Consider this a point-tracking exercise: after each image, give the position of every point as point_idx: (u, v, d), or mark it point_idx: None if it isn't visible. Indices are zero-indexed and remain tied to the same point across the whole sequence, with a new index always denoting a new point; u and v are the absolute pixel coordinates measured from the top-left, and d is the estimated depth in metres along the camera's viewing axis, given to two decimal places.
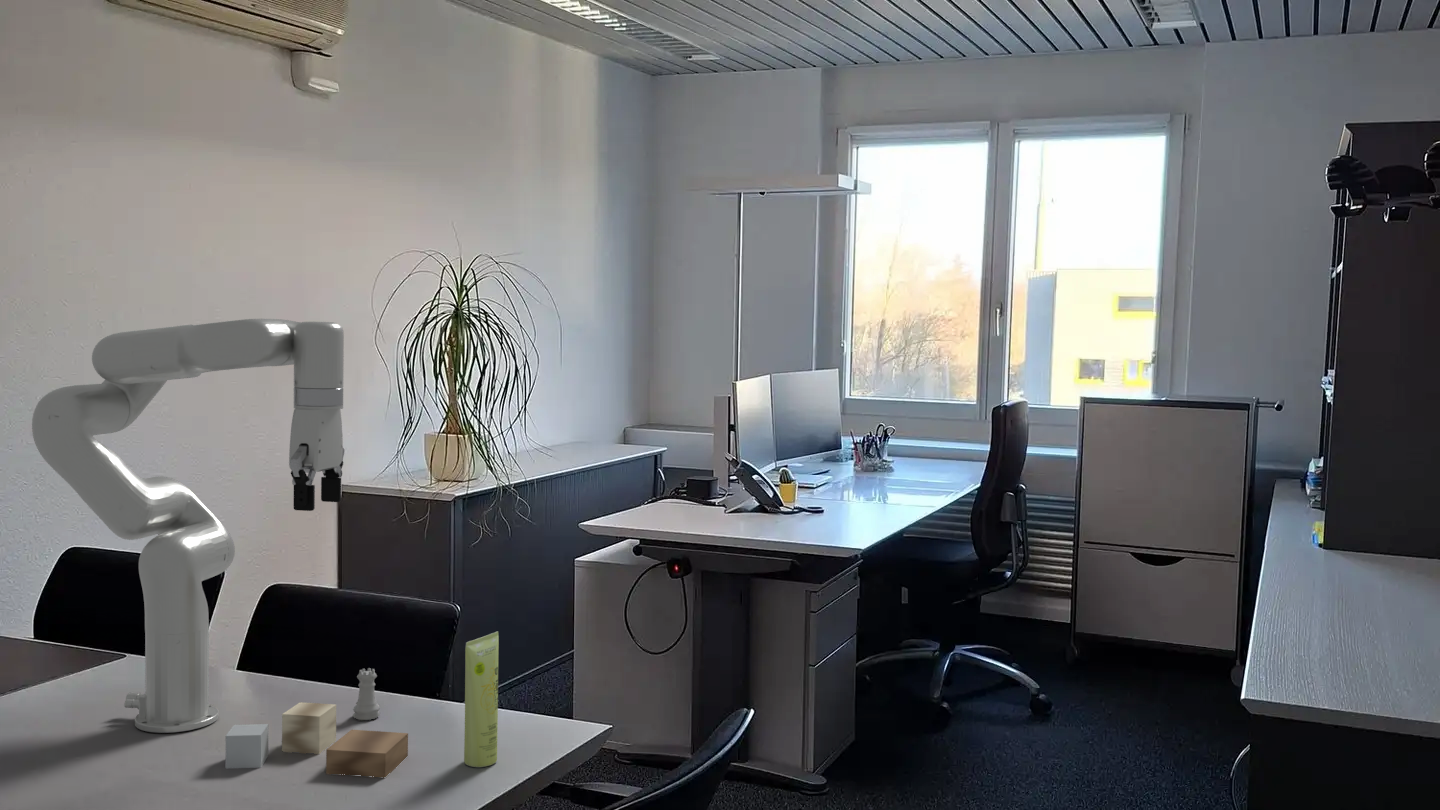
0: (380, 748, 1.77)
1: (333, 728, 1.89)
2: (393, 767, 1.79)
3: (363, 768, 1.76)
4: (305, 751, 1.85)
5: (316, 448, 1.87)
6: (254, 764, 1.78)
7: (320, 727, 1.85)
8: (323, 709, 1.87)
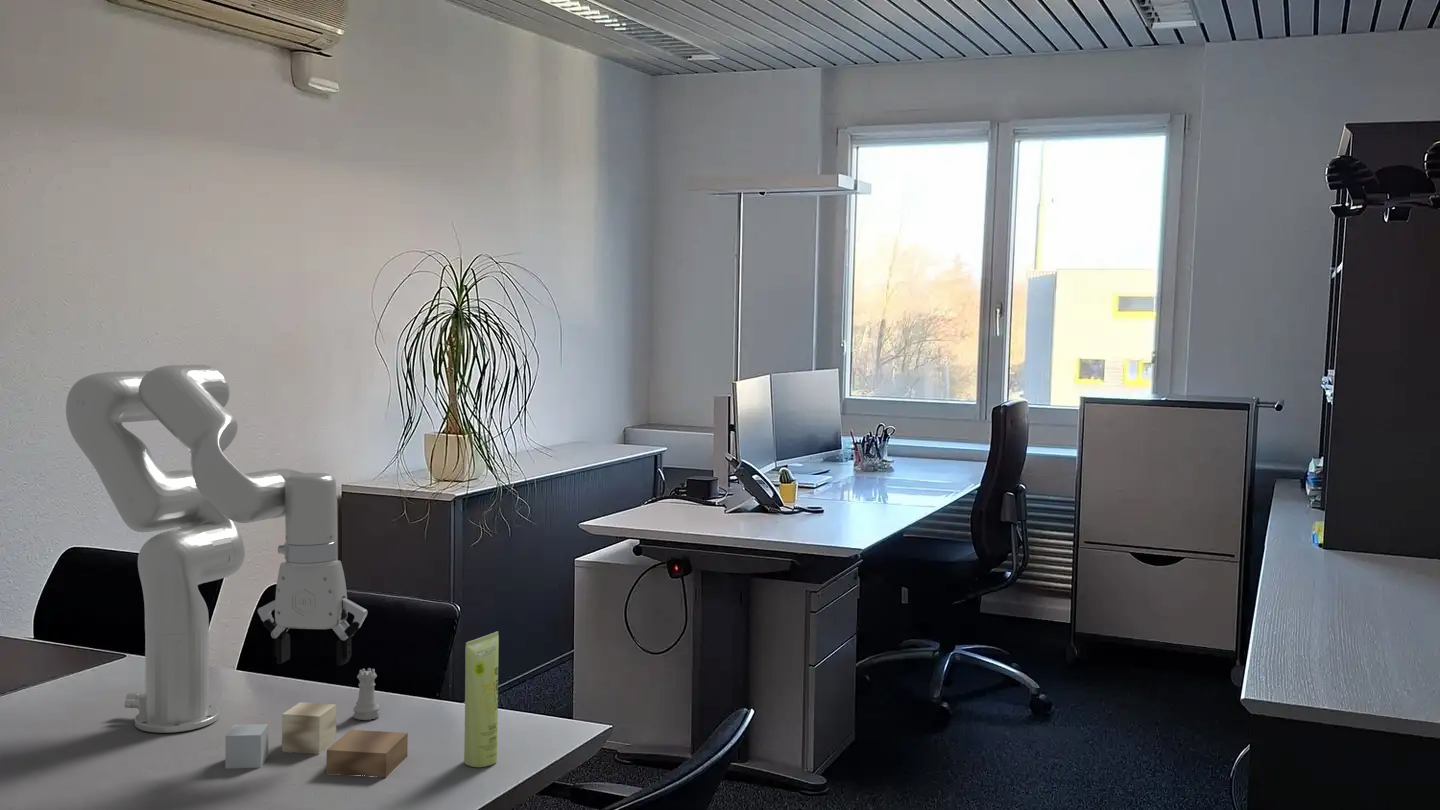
0: (381, 748, 1.77)
1: (333, 728, 1.89)
2: (393, 767, 1.79)
3: (363, 768, 1.76)
4: (305, 751, 1.85)
5: (346, 598, 1.87)
6: (254, 764, 1.78)
7: (320, 727, 1.85)
8: (323, 709, 1.87)
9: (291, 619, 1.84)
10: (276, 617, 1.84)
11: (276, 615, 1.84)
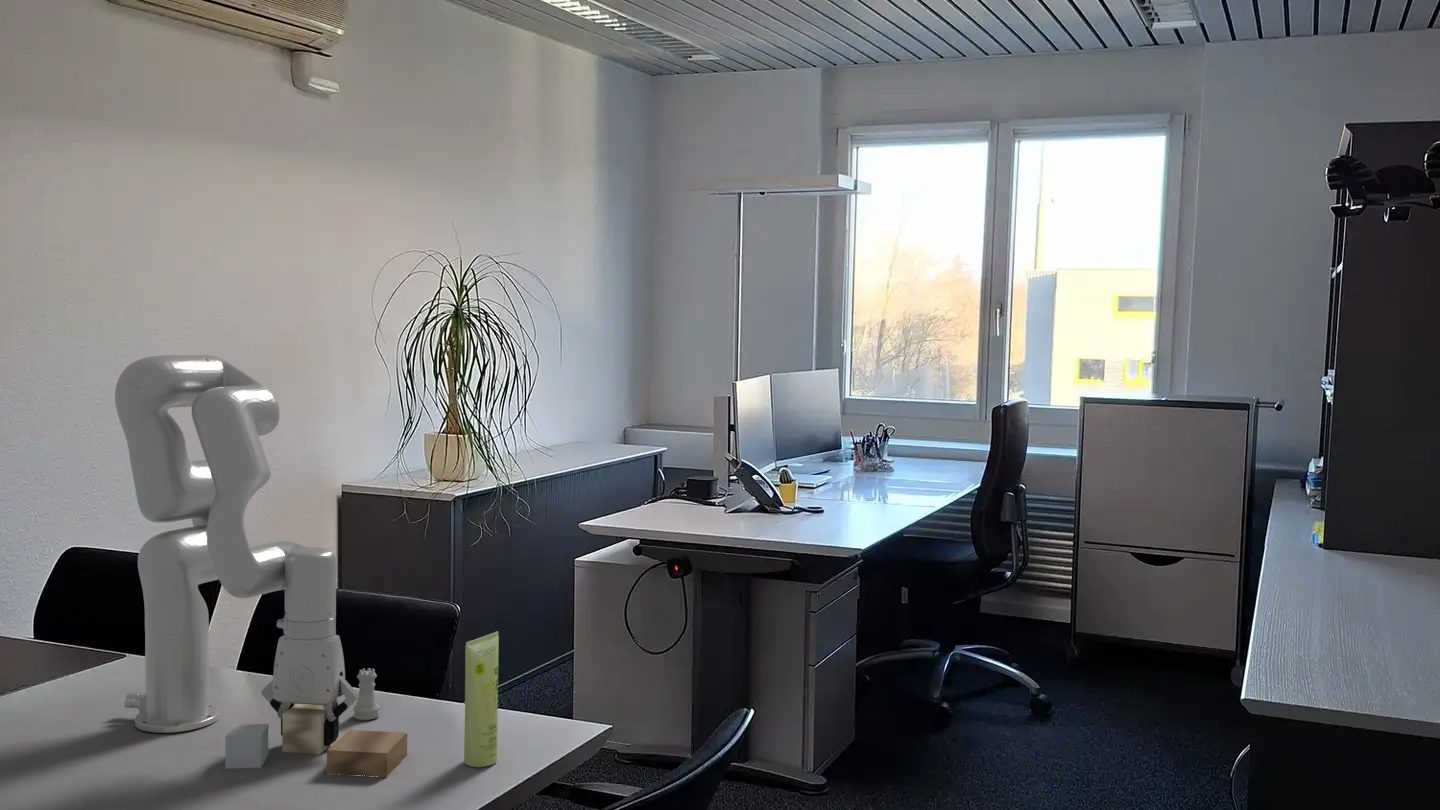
0: (381, 748, 1.77)
1: None
2: (394, 767, 1.79)
3: (364, 768, 1.76)
4: (305, 751, 1.85)
5: None
6: (254, 764, 1.78)
7: (321, 726, 1.85)
8: (323, 708, 1.87)
9: (289, 694, 1.85)
10: (274, 692, 1.85)
11: (274, 690, 1.85)
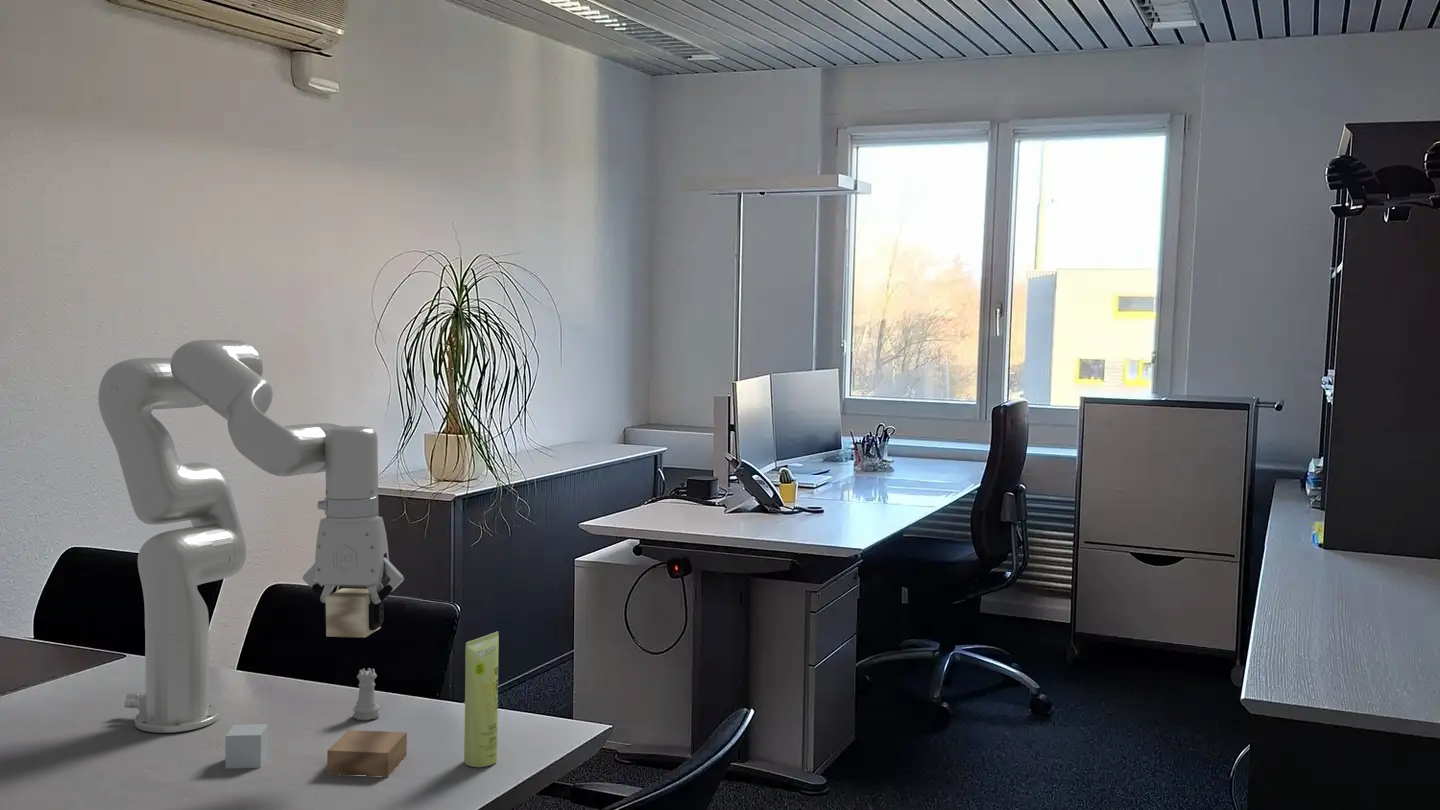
0: (382, 748, 1.77)
1: None
2: (394, 766, 1.79)
3: (365, 768, 1.76)
4: (350, 634, 1.78)
5: None
6: (254, 764, 1.78)
7: (366, 608, 1.78)
8: (367, 592, 1.81)
9: (332, 576, 1.78)
10: (316, 574, 1.79)
11: (316, 572, 1.79)
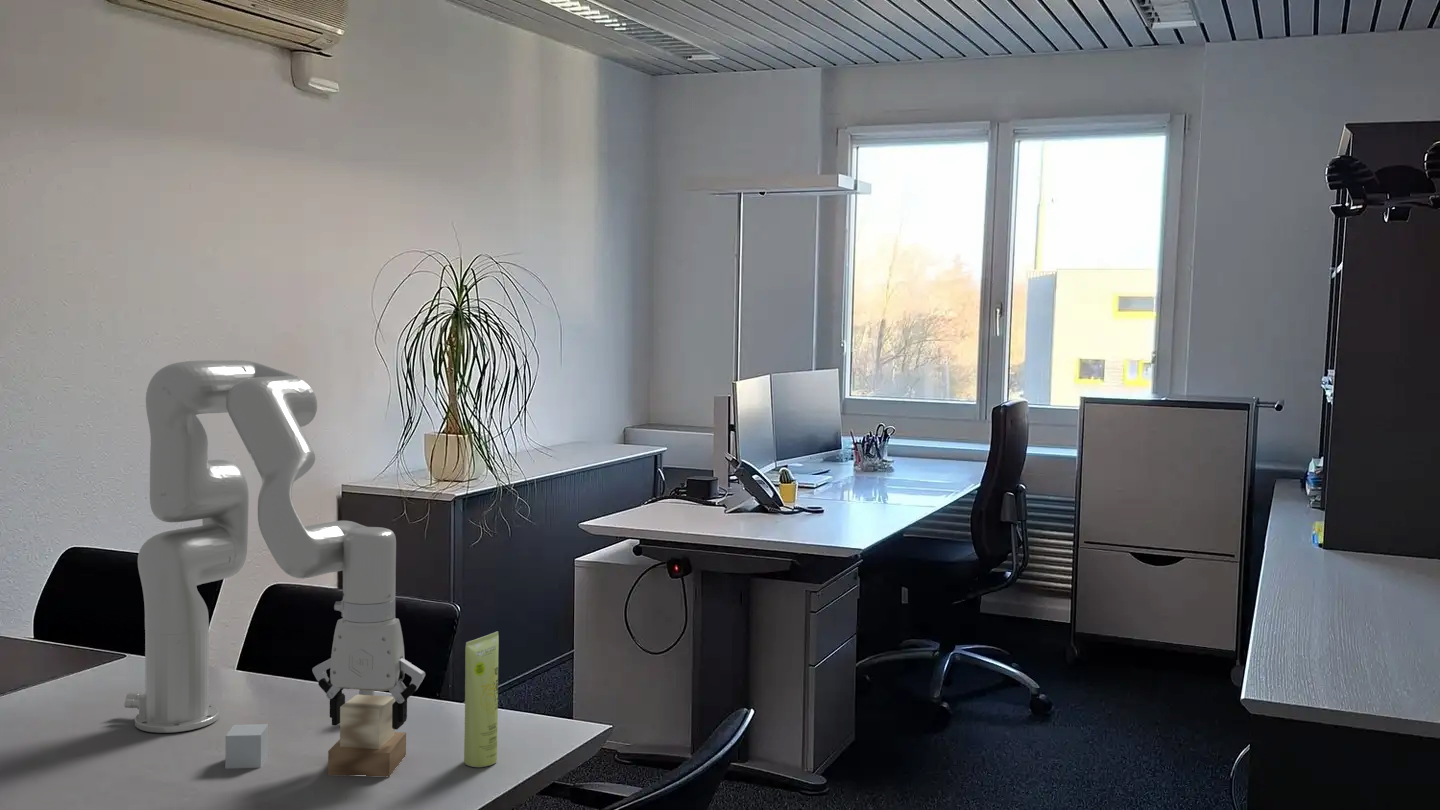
0: (383, 748, 1.77)
1: None
2: (395, 766, 1.79)
3: (366, 768, 1.76)
4: (364, 745, 1.77)
5: None
6: (254, 764, 1.78)
7: (380, 720, 1.77)
8: (382, 701, 1.80)
9: (347, 679, 1.77)
10: (331, 677, 1.77)
11: (331, 675, 1.77)
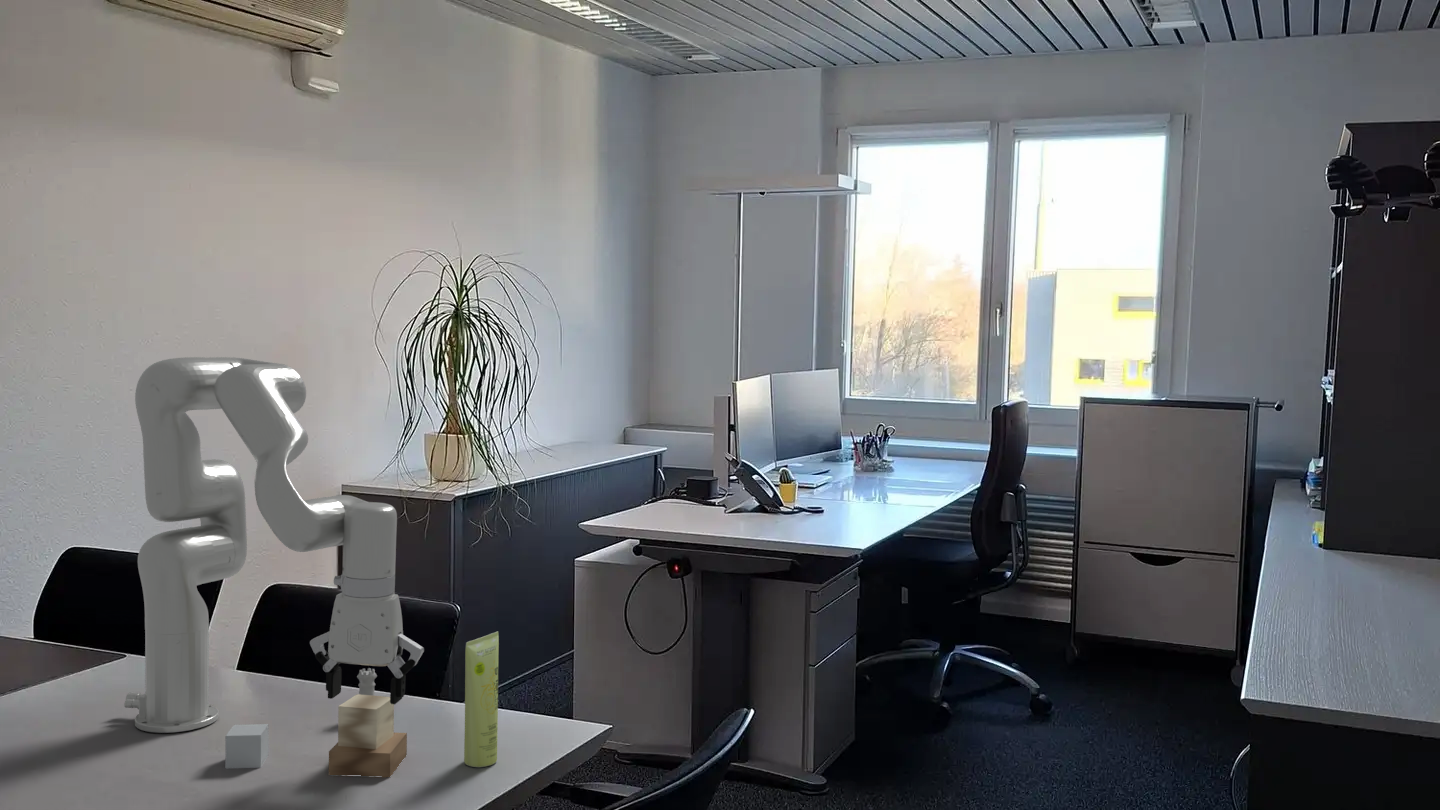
0: (383, 748, 1.77)
1: (391, 722, 1.82)
2: (396, 767, 1.79)
3: (367, 769, 1.76)
4: (362, 745, 1.77)
5: (402, 634, 1.81)
6: (254, 764, 1.78)
7: (377, 720, 1.77)
8: (380, 702, 1.80)
9: (345, 654, 1.77)
10: (329, 651, 1.77)
11: (330, 649, 1.77)
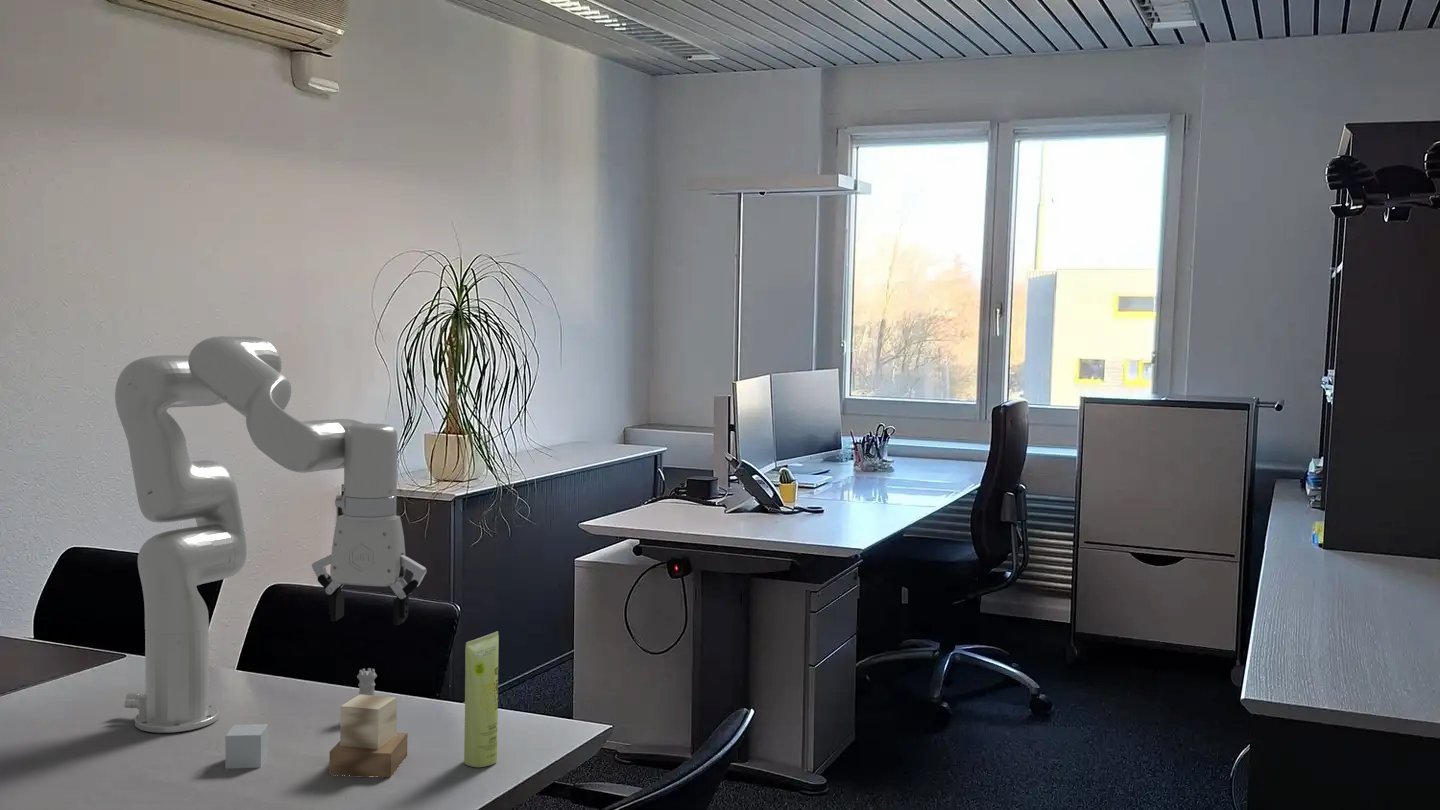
0: (384, 749, 1.77)
1: (393, 722, 1.82)
2: (396, 767, 1.79)
3: (367, 769, 1.76)
4: (364, 745, 1.77)
5: None
6: (254, 764, 1.78)
7: (379, 720, 1.77)
8: (383, 702, 1.80)
9: (347, 575, 1.76)
10: (332, 572, 1.77)
11: (332, 570, 1.76)
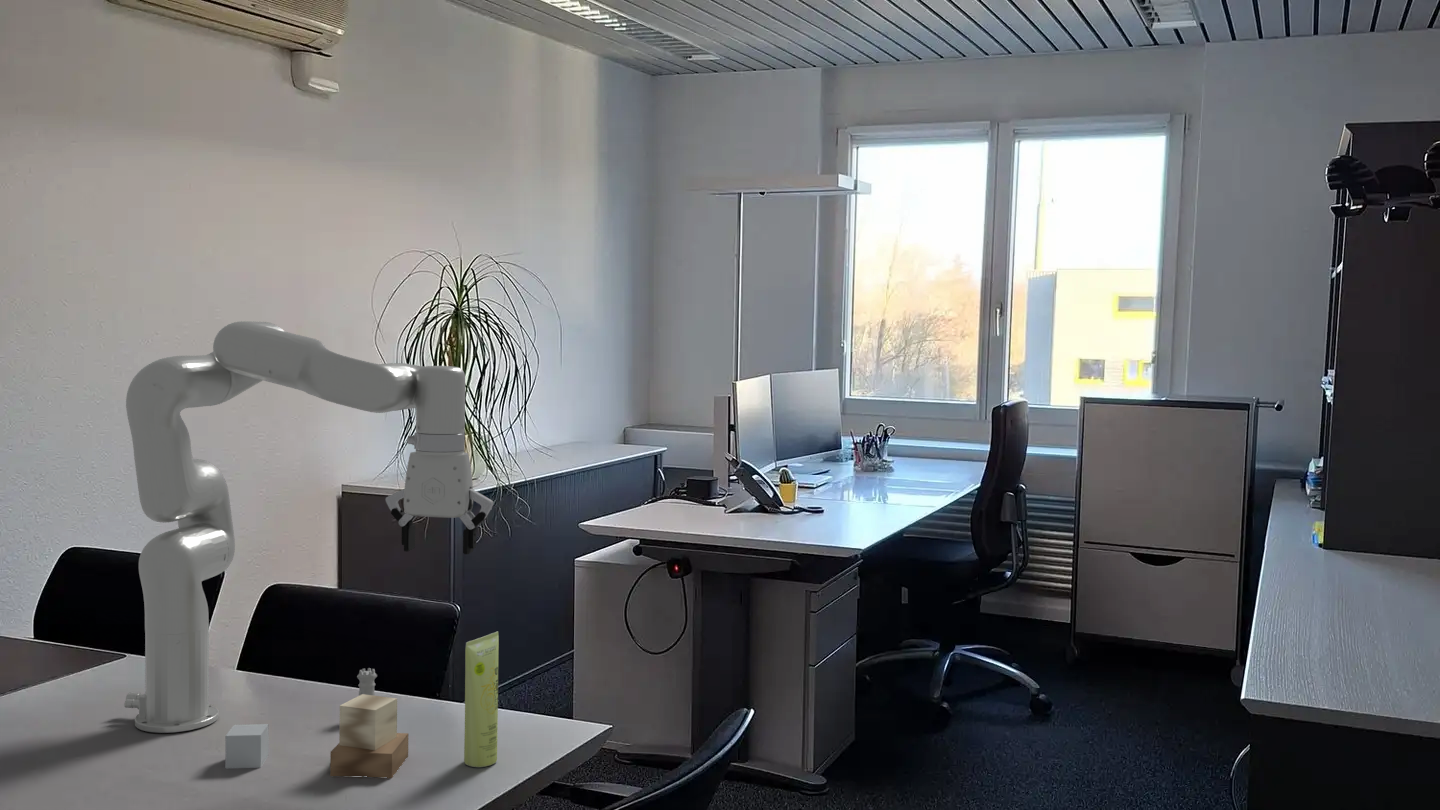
0: (385, 749, 1.77)
1: (393, 723, 1.81)
2: (397, 767, 1.79)
3: (368, 769, 1.75)
4: (361, 745, 1.77)
5: None
6: (254, 764, 1.78)
7: (377, 721, 1.77)
8: (382, 702, 1.80)
9: (420, 507, 1.88)
10: (405, 505, 1.88)
11: (405, 503, 1.88)
